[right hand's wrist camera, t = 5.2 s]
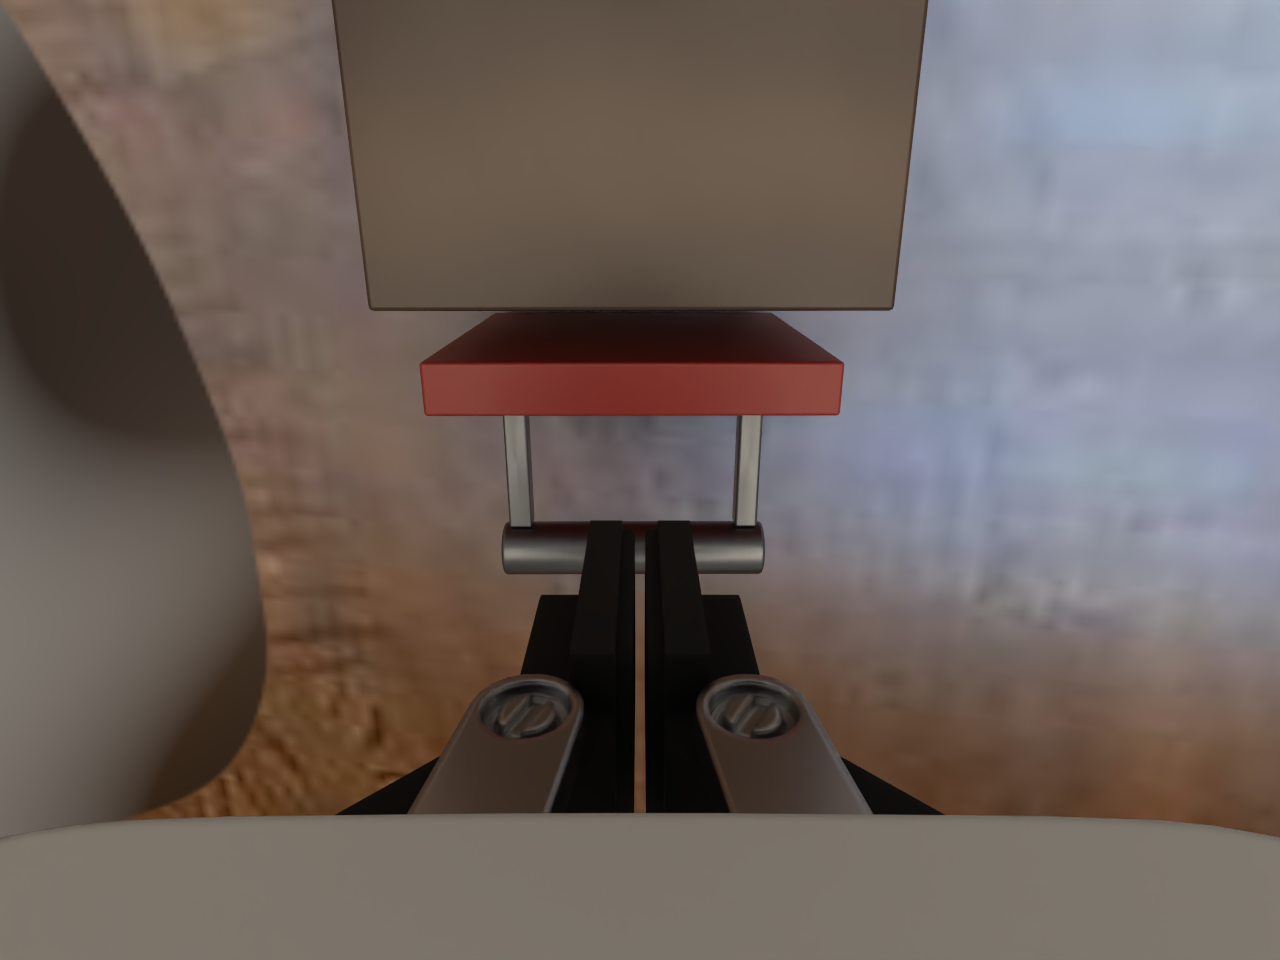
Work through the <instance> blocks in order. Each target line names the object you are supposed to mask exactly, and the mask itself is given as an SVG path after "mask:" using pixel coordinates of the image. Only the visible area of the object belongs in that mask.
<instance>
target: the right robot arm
mask: <svg viewBox="0 0 1280 960" xmlns="http://www.w3.org/2000/svg"><path fill="white" fill-rule="evenodd" d="M634 758H635V529H623V524H622V521H590V526H589V532H588V538H587V545H586V551H585V557H584V564H583V570H582V576H581V583H580V589H579V595H541V597H540V600H539V603H538V607H537V611H536V615H535V619H534V623H533V627H532V631H531V635H530V639H529V643H528V647H527V651H526V655H525V658H524V662H523V666H522V670H521V674H520V675H518V676H513V677H508V678H505V679H503V680H500V681H498V682H495V683H493V684H491V685H490V686H488V687H487V688H485V689H484V690H482V691H481V692H480V693H479V694H478V695H477V696H476V697H475V699H474V700H473V701H472V702H471V704H470V705H469V707H468V709H467V711H466V712H465V714H464V716H463V718H462V719H461V721H460V723H459V725H458V726H457V728H456V730H455V731H454V733H453V735H452V737H451V738H450V740H449V742H448V744H447V745H446V747H445V749H444V751H443V752H442V754H441V756H439V757H438V758H436V759H434V760H432V761H431V762H429V763H427V764H425V765H423V766H422V767H420V768H418V769H416V770H414V771H413V772H411V773H409V774H407V775H406V776H404V777H402V778H400V779H398V780H397V781H395V782H393V783H391V784H389V785H388V786H386V787H384V788H382V789H381V790H379V791H377V792H375V793H373V794H372V795H370V796H368V797H366V798H364V799H363V800H361V801H359V802H357V803H356V804H354V805H352V806H350V807H348V808H347V809H345V810H343V811H341V812H339V813H338V814H336V815H324V816H230V817H201V818H174V819H146V820H120V821H110V822H100V823H90V824H80V825H70V826H62V827H57V828H51V829H45V830H40V831H34V832H28V833H23V834H17V835H12V836H6V837H2V838H0V960H1280V838H1278V837H1274V836H1268V835H1263V834H1257V833H1252V832H1246V831H1240V830H1235V829H1229V828H1223V827H1218V826H1210V825H1200V824H1190V823H1180V822H1170V821H1160V820H1134V819H1106V818H1079V817H1051V816H972V815H944V814H942V813H941V812H939V811H937V810H935V809H933V808H932V807H930V806H928V805H926V804H924V803H923V802H921V801H919V800H917V799H916V798H914V797H912V796H910V795H908V794H907V793H905V792H903V791H901V790H899V789H898V788H896V787H894V786H892V785H891V784H889V783H887V782H885V781H883V780H882V779H880V778H878V777H876V776H874V775H873V774H871V773H869V772H867V771H866V770H864V769H862V768H860V767H858V766H857V765H855V764H853V763H851V762H849V761H848V760H846V759H844V758H842V757H841V756H839V754H838V752H837V751H836V749H835V747H834V745H833V744H832V742H831V740H830V738H829V737H828V735H827V733H826V731H825V730H824V728H823V726H822V725H821V723H820V721H819V719H818V718H817V716H816V714H815V712H814V711H813V709H812V707H811V705H810V704H809V702H808V701H807V700H806V699H805V697H804V696H803V695H802V694H801V693H800V692H799V691H798V690H796V689H795V688H793V687H792V686H790V685H789V684H787V683H785V682H782V681H780V680H777V679H775V678H772V677H767V676H762V675H760V674H759V670H758V666H757V662H756V658H755V655H754V651H753V647H752V643H751V639H750V635H749V631H748V627H747V623H746V619H745V615H744V611H743V607H742V603H741V600H740V597H739V595H701V589H700V583H699V576H698V570H697V564H696V557H695V551H694V545H693V538H692V532H691V526H690V521H658V524H657V529H645V758H646V813H634Z"/></svg>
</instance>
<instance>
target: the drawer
mask: <svg viewBox="0 0 1280 960" xmlns="http://www.w3.org/2000/svg"><path fill="white" fill-rule="evenodd" d="M843 372H844V363H843V362H842V361H840V360H839V359H837V358H836V357H835V356H833V355H832V354H830V353H829V352H827V351H826V350H824V349H823V348H821V347H820V346H819V345H817V344H816V343H814V342H813V341H811V340H810V339H808V338H807V337H806V336H804V335H803V334H801V333H800V332H798V331H797V330H795V329H794V328H793V327H791V326H790V325H788V324H787V323H785V322H784V321H782V320H781V319H780V318H778V317H777V316H775V315H774V314H772V313H495V314H493V315H492V316H490V317H489V318H487V319H486V320H484V321H483V322H481V323H480V324H478V325H477V326H475V327H474V328H472V329H471V330H469V331H468V332H466V333H465V334H463V335H462V336H460V337H459V338H457V339H456V340H454V341H453V342H451V343H450V344H448V345H447V346H445V347H444V348H442V349H441V350H439V351H438V352H436V353H435V354H433V355H432V356H430V357H429V358H427V359H426V360H424V361H423V362H421V363H420V373H421V383H422V393H423V403H424V413H425V415H427V416H503V425H504V440H505V456H506V471H507V487H508V503H509V518H510V522H507V523H506V524H505V526H504V530H503V535H502V564H503V568H504V571H505V573H506V574H582V570H583V564H584V557H585V551H586V545H587V538H588V532H589V526H590V521H547V522H533V521H534V501H533V482H532V463H531V443H530V424H529V416H705V415H737V426H736V449H735V471H734V493H733V515H732V518H733V521H690V526H691V532H692V538H693V545H694V551H695V557H696V564H697V570H698V574H759V573H761V572H762V570H763V566H764V559H765V540H764V531H763V527H762V525H761V523H760V522H758V521H757V506H758V488H759V471H760V453H761V436H762V418H763V415H839V413H840V404H841V393H842V383H843ZM622 524H623V529H635V574H645V529H657V524H658V521H622Z"/></svg>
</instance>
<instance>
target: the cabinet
mask: <svg viewBox="0 0 1280 960" xmlns="http://www.w3.org/2000/svg"><path fill="white" fill-rule="evenodd" d="M332 6H333V15H334V23H335V31H336V40H337V48H338V56H339V65H340V73H341V81H342V89H343V98H344V106H345V114H346V123H347V131H348V139H349V147H350V156H351V164H352V172H353V181H354V189H355V197H356V205H357V214H358V222H359V230H360V239H361V247H362V255H363V263H364V272H365V280H366V288H367V297H368V305H369V308H370V310H373V311H889V310H891V309H893V307H894V300H895V291H896V283H897V274H898V265H899V256H900V247H901V238H902V229H903V221H904V212H905V203H906V194H907V185H908V176H909V167H910V158H911V150H912V141H913V132H914V123H915V114H916V105H917V96H918V87H919V79H920V70H921V61H922V52H923V43H924V34H925V25H926V17H927V8H928V0H332Z"/></svg>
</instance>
